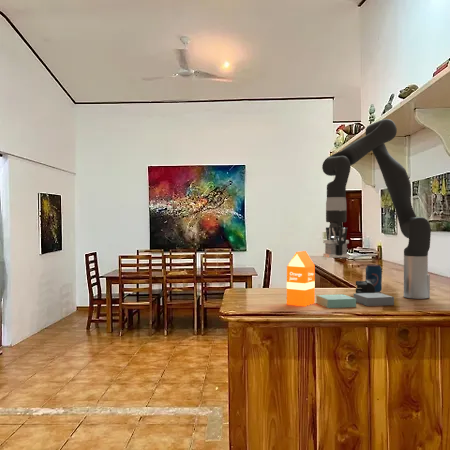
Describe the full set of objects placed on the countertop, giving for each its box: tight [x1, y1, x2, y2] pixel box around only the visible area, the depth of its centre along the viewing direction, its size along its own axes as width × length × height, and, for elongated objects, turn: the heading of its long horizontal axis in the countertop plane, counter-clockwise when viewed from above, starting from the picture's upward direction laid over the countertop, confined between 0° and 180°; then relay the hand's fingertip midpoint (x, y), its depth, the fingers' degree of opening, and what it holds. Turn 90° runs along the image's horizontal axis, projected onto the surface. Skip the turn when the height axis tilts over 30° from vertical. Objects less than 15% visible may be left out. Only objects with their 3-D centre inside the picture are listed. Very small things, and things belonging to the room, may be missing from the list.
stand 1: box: [315, 293, 357, 309], centre depth 182 cm, size 11×11×3 cm
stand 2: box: [353, 292, 395, 307], centre depth 186 cm, size 11×11×3 cm
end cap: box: [355, 279, 375, 293], centre depth 201 cm, size 10×7×7 cm
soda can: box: [365, 263, 383, 293], centre depth 215 cm, size 7×7×12 cm
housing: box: [322, 239, 350, 259], centre depth 182 cm, size 8×5×6 cm, turn 102°
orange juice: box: [286, 250, 316, 307], centre depth 184 cm, size 8×9×20 cm
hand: (336, 254), depth 182 cm, fingers closed on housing, 5 cm apart
